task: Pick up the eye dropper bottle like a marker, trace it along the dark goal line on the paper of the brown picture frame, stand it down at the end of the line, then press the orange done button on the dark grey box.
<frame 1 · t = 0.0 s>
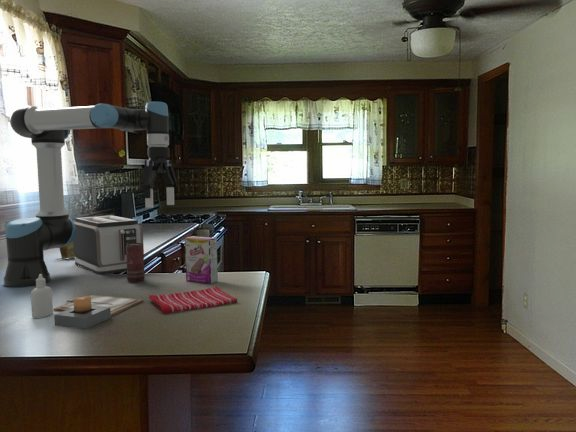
hand: (160, 206, 173), 28 cm above the counter, fingers open, 13 cm apart
dish towel: (192, 304, 150), on the counter
candy bar box: (201, 282, 177), on the counter
eye dropper bottle: (42, 316, 137), on the counter
done button: (82, 303, 131), point 5 cm above the counter, slide at 0.0 cm
ceramic cup: (69, 258, 227), on the counter
toaster: (108, 267, 206), on the counter
button housing: (83, 321, 131), on the counter
brown picture frame: (99, 305, 147), on the counter
can: (136, 281, 179), on the counter
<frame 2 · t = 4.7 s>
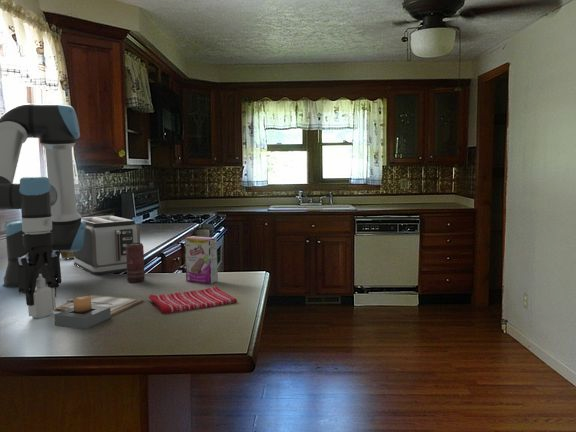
hand: (42, 312, 137), 1 cm above the counter, fingers closed on eye dropper bottle, 6 cm apart
eye dropper bottle: (42, 316, 137), on the counter, touching gripper
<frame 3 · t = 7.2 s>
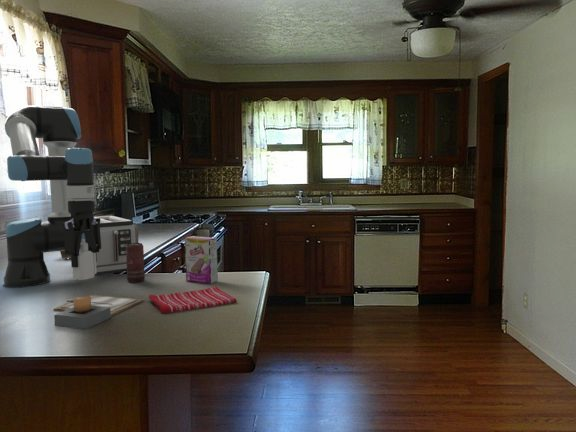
hand: (85, 275, 147), 9 cm above the counter, fingers closed on eye dropper bottle, 6 cm apart
eye dropper bottle: (85, 278, 147), point 8 cm above the counter, touching gripper
when the fingers open (2 cm above the counter, at t = 10.0 s): eye dropper bottle stays where it is, resting on brown picture frame.
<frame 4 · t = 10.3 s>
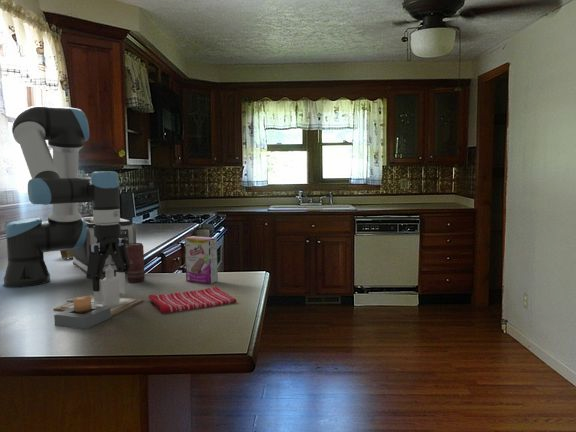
hand: (110, 297, 145), 3 cm above the counter, fingers open, 9 cm apart
eye dropper bottle: (110, 304, 145), point 1 cm above the counter, touching brown picture frame
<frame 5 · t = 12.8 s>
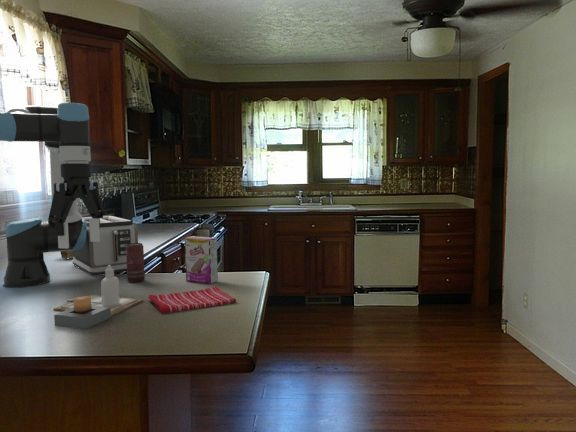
hand: (80, 244, 129), 21 cm above the counter, fingers open, 11 cm apart
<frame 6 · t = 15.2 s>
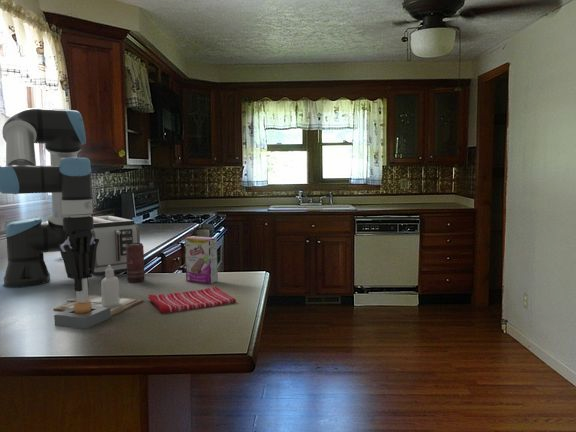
hand: (82, 301, 131), 6 cm above the counter, fingers closed
done button: (82, 308, 131), point 4 cm above the counter, slide at 1.2 cm, touching gripper
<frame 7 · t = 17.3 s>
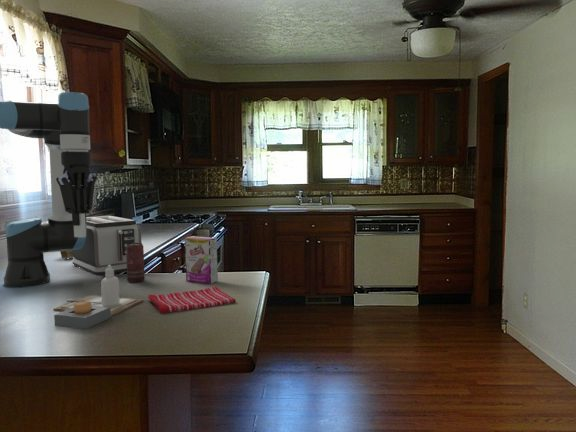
hand: (80, 236, 133), 23 cm above the counter, fingers closed
done button: (82, 308, 131), point 4 cm above the counter, slide at 1.5 cm
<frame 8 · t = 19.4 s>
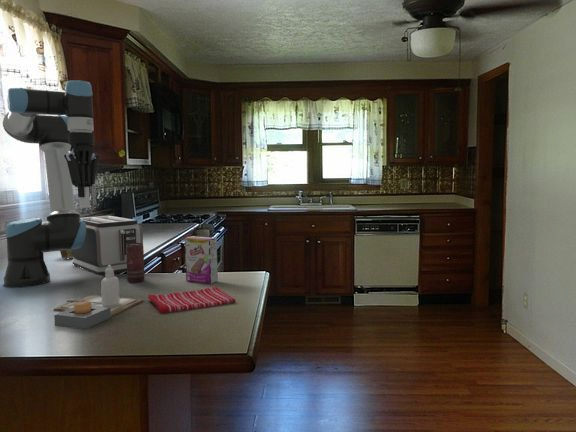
hand: (84, 207, 152), 29 cm above the counter, fingers closed
nothing on the counter moved.
at the end: eye dropper bottle inside the target area (3.5 cm from its centre), point 0.6 cm above the counter; eye dropper bottle tilted 0°; done button slide at 1.5 cm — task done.
